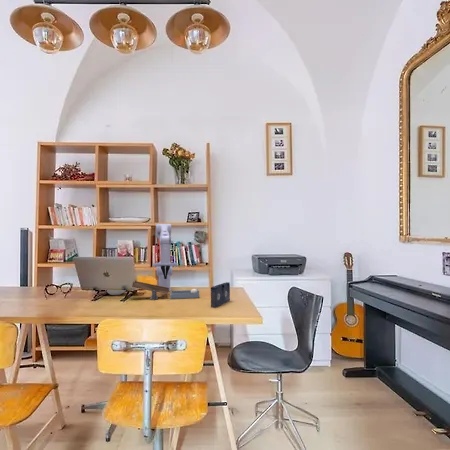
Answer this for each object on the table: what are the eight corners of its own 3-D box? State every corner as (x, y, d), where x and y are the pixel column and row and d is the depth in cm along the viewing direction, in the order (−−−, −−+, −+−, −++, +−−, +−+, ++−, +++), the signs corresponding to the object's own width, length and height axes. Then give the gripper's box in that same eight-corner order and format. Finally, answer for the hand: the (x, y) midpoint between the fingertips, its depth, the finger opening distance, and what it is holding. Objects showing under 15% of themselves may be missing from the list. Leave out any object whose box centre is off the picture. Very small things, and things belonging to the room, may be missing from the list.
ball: (198, 293, 199) (191, 296, 199) (196, 287, 199) (189, 289, 199) (198, 295, 195) (191, 297, 195) (196, 288, 195) (189, 290, 195)
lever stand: (151, 296, 199) (151, 286, 199) (158, 296, 199) (158, 286, 199) (149, 300, 188) (149, 289, 188) (157, 299, 189) (157, 289, 189)
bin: (170, 296, 199) (170, 289, 200) (198, 295, 202) (198, 288, 202) (170, 299, 191) (170, 291, 191) (199, 298, 193) (199, 290, 193)
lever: (134, 282, 203) (136, 277, 204) (168, 289, 206) (169, 284, 206) (131, 286, 189) (133, 281, 189) (167, 294, 191) (169, 288, 192)
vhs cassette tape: (226, 300, 187) (225, 282, 187) (230, 300, 186) (230, 282, 186) (209, 307, 170) (209, 287, 171) (215, 307, 169) (214, 287, 169)
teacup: (127, 292, 211) (127, 279, 211) (120, 296, 200) (120, 282, 200) (106, 292, 212) (106, 279, 212) (97, 296, 201) (97, 282, 201)
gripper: (152, 256, 199) (152, 280, 199) (177, 256, 201) (177, 279, 201) (153, 255, 206) (153, 278, 206) (177, 255, 208) (177, 277, 208)
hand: (165, 278), depth 204 cm, fingers closed
